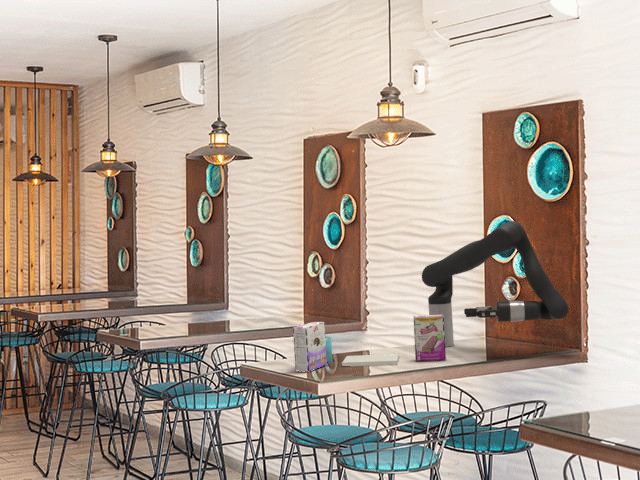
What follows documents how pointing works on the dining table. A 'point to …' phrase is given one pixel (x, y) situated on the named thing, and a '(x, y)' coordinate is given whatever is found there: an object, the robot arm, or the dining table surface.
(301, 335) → the candy box
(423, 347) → the candy bar box
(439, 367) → the dining table surface
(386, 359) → the plain white board
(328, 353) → the teal rounded cylinder
